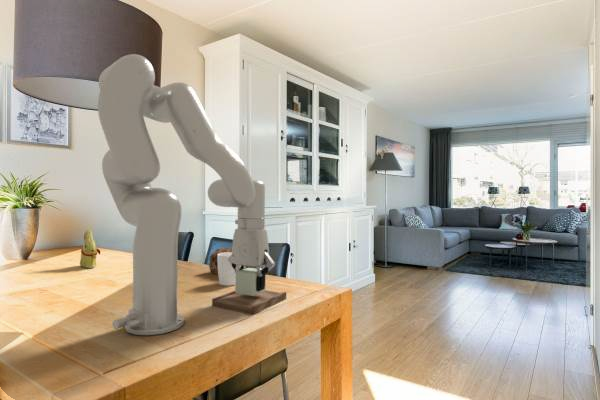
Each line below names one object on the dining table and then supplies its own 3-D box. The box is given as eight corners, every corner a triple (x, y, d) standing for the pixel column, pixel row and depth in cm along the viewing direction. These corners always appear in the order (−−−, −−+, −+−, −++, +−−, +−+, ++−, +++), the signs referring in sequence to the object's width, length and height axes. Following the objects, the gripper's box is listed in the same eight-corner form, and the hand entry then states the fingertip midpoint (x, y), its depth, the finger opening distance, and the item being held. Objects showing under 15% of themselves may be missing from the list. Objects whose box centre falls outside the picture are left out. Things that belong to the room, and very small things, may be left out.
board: (254, 314, 94) (254, 306, 94) (212, 305, 101) (212, 298, 101) (286, 298, 108) (286, 292, 108) (247, 292, 115) (247, 286, 115)
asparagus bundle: (85, 270, 144) (85, 231, 144) (77, 266, 152) (77, 229, 151) (104, 267, 149) (104, 230, 148) (95, 263, 157) (95, 228, 156)
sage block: (253, 295, 100) (253, 273, 100) (235, 292, 103) (235, 271, 103) (265, 290, 106) (265, 269, 106) (248, 288, 108) (248, 267, 108)
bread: (262, 275, 139) (262, 249, 139) (241, 280, 130) (241, 252, 130) (229, 268, 150) (229, 244, 150) (207, 273, 142) (208, 247, 142)
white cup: (235, 287, 121) (235, 256, 121) (213, 285, 123) (213, 255, 123) (244, 281, 129) (244, 252, 129) (222, 280, 130) (222, 251, 130)
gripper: (218, 223, 105) (217, 287, 105) (269, 227, 97) (269, 296, 97) (234, 222, 111) (234, 281, 112) (284, 225, 103) (283, 289, 104)
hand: (250, 287), depth 104 cm, fingers closed on sage block, 6 cm apart
